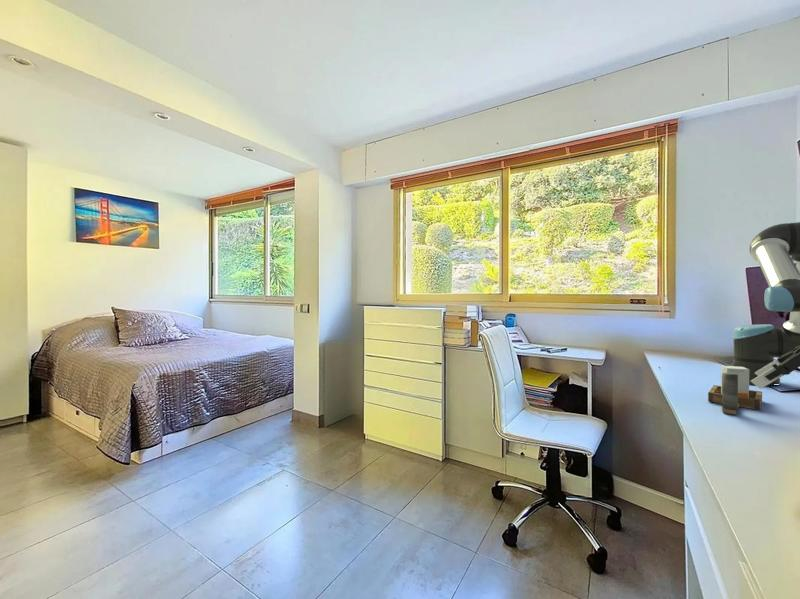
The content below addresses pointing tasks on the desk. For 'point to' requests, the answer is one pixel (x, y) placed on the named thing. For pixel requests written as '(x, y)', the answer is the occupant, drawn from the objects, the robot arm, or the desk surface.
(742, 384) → the skincare box
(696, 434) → the desk surface
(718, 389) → the pull frame
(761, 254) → the robot arm
